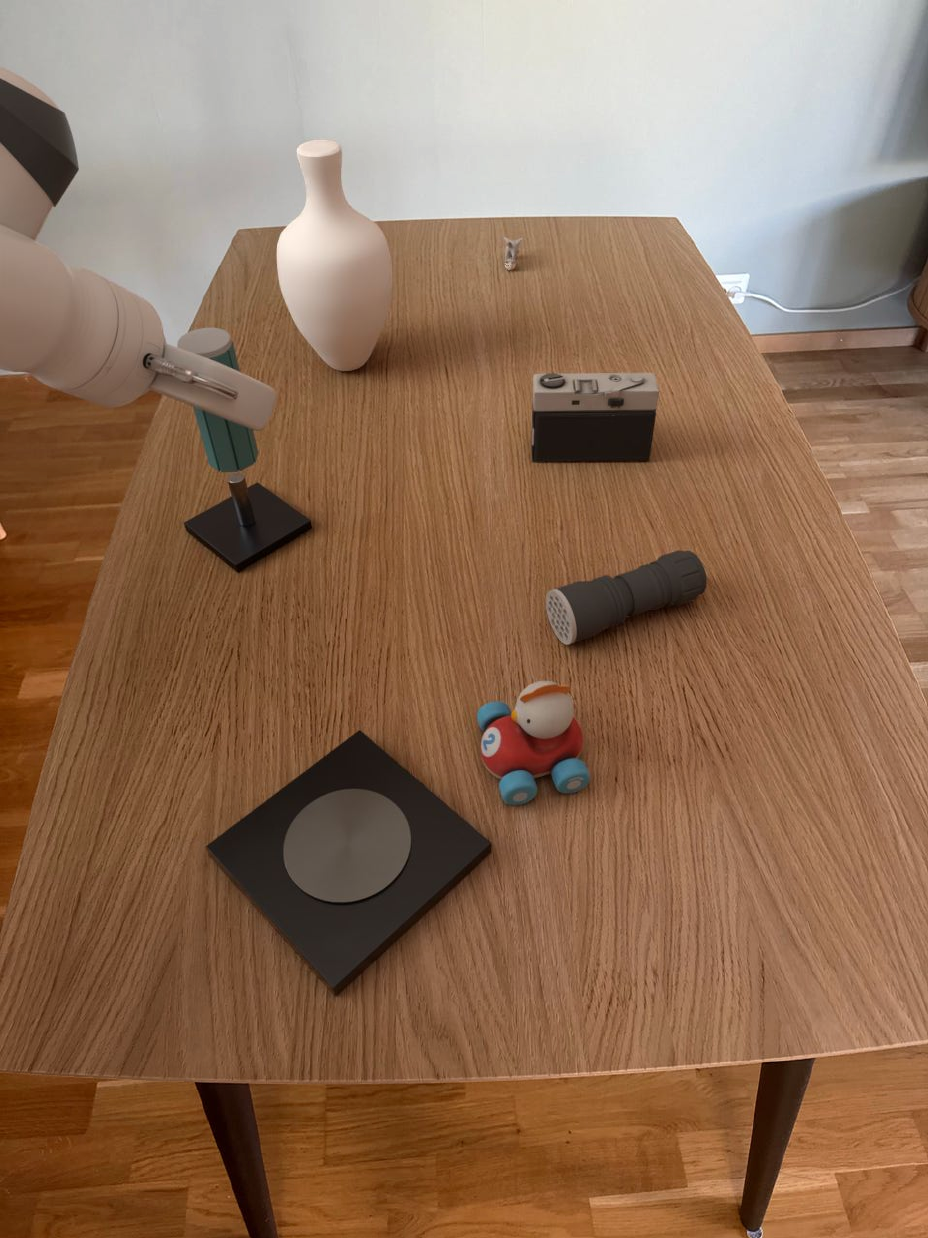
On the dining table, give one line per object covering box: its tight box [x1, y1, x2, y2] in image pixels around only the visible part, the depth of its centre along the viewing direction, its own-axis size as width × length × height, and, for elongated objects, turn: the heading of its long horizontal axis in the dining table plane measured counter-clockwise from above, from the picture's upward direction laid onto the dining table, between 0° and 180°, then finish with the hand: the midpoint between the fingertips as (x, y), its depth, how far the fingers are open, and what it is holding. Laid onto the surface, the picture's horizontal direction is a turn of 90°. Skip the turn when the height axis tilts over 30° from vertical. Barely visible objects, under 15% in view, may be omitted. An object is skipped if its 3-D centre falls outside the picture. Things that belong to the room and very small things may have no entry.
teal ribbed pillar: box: [176, 327, 259, 473], centre depth 81 cm, size 4×4×12 cm
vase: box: [276, 139, 394, 372], centre depth 115 cm, size 14×14×28 cm
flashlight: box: [545, 549, 708, 646], centre depth 88 cm, size 15×5×5 cm, turn 114°
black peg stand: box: [183, 471, 313, 574], centre depth 98 cm, size 10×10×7 cm
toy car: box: [476, 680, 591, 806], centre depth 75 cm, size 9×9×10 cm
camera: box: [530, 372, 660, 463], centre depth 107 cm, size 14×8×10 cm, turn 88°
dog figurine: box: [502, 236, 524, 271], centre depth 143 cm, size 3×8×6 cm
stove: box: [205, 729, 493, 997], centre depth 72 cm, size 16×16×2 cm
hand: (223, 397), depth 81 cm, fingers closed on teal ribbed pillar, 4 cm apart
